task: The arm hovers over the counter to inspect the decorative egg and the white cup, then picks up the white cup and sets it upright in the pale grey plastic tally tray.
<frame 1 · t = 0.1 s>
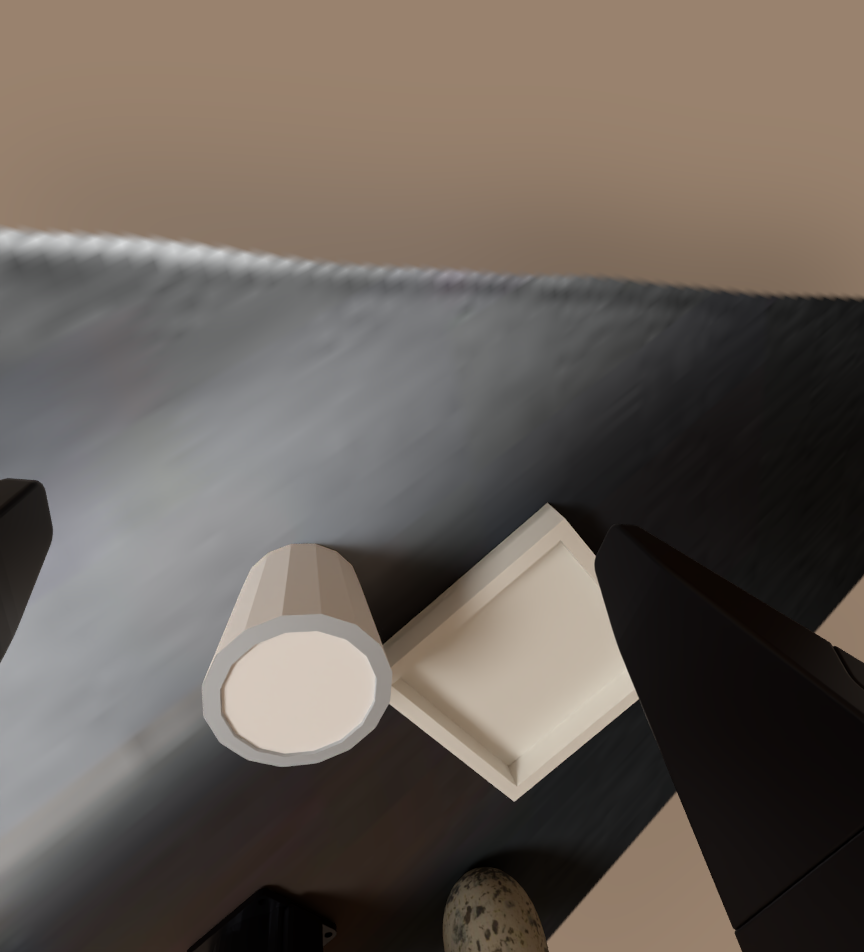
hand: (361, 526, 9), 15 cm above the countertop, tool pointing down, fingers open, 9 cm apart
tally tray: (522, 650, 30), on the countertop
white cup: (302, 593, 26), on the countertop
decorative egg: (474, 873, 35), on the countertop
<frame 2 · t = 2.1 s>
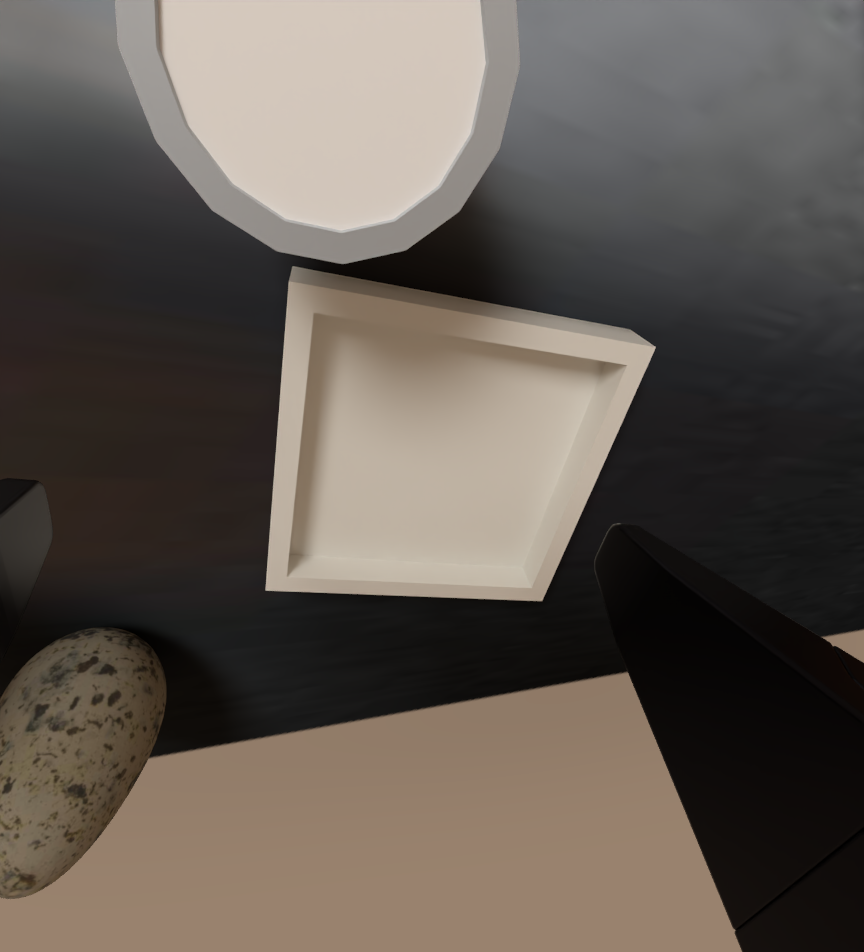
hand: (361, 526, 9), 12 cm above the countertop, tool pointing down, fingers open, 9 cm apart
tally tray: (436, 452, 22), on the countertop
white cup: (329, 82, 15), on the countertop
decorative egg: (115, 638, 25), on the countertop
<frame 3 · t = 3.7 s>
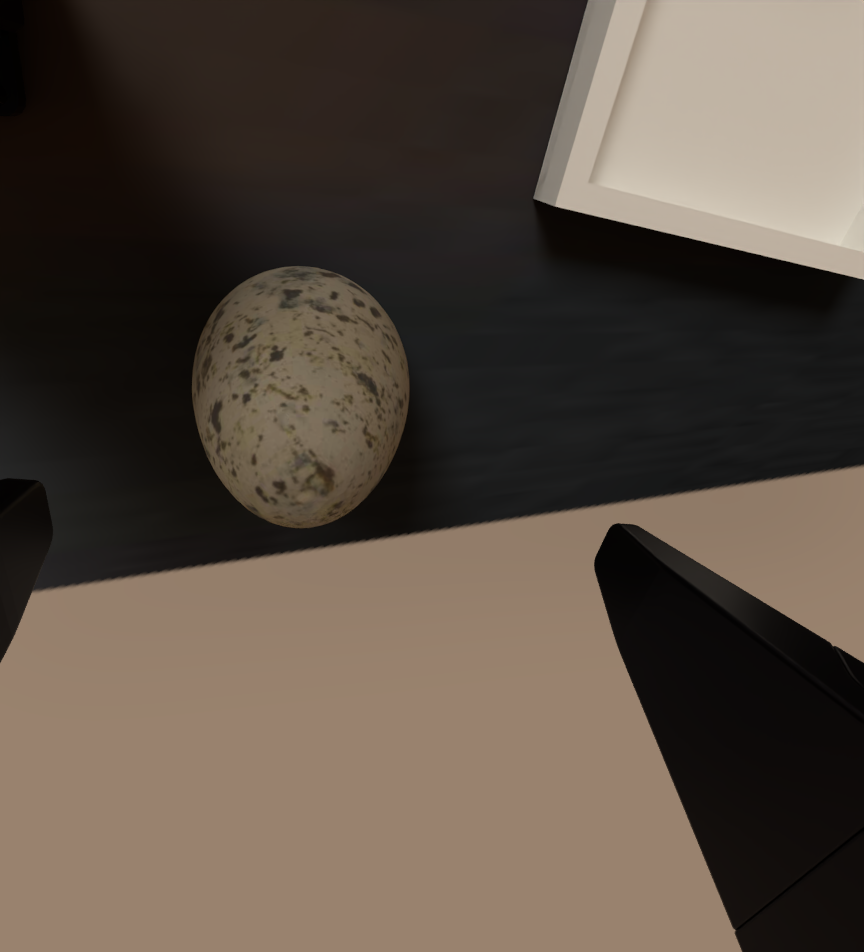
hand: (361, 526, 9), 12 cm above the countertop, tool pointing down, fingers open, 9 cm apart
tally tray: (790, 12, 16), on the countertop
decorative egg: (309, 333, 19), on the countertop
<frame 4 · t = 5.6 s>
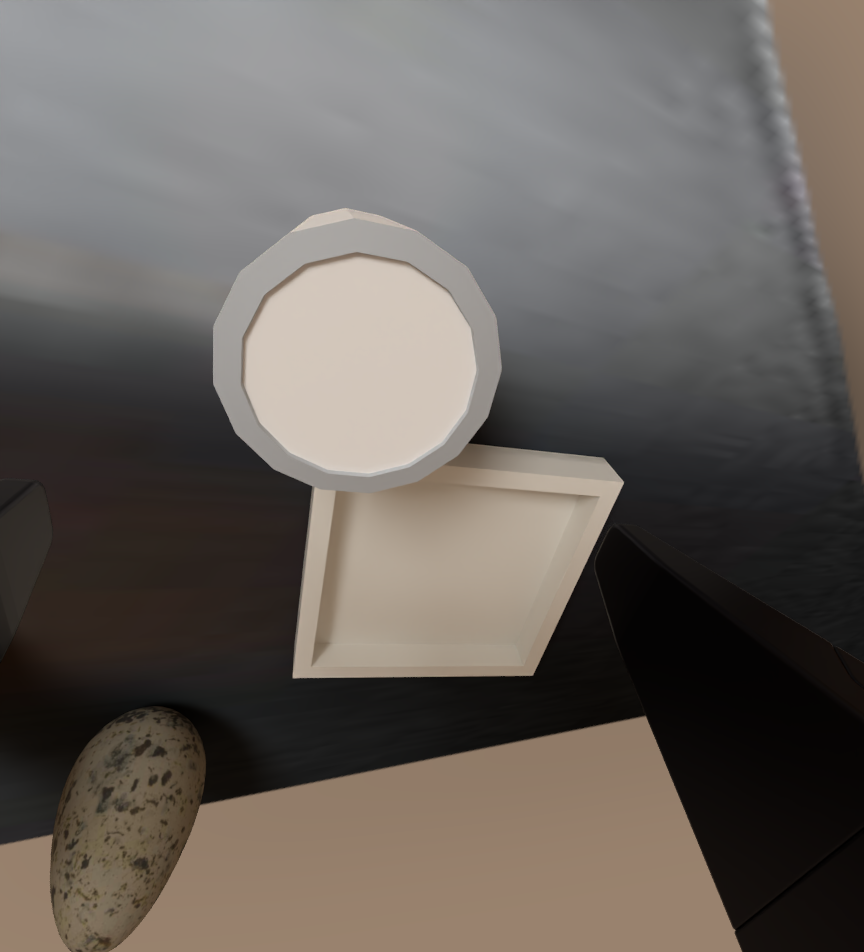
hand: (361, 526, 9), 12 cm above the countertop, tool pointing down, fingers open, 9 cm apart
tally tray: (439, 557, 26), on the countertop
white cup: (350, 297, 19), on the countertop
decorative egg: (158, 711, 29), on the countertop
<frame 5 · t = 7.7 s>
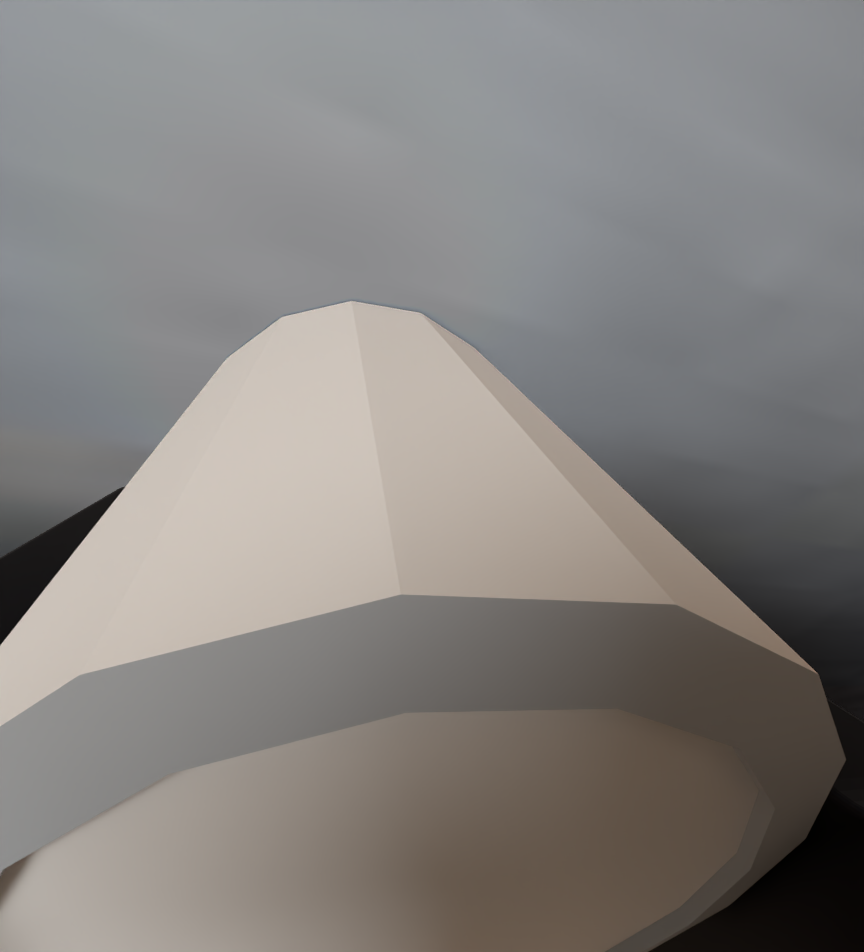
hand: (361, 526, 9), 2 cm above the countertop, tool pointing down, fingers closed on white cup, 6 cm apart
white cup: (361, 451, 10), on the countertop, touching gripper
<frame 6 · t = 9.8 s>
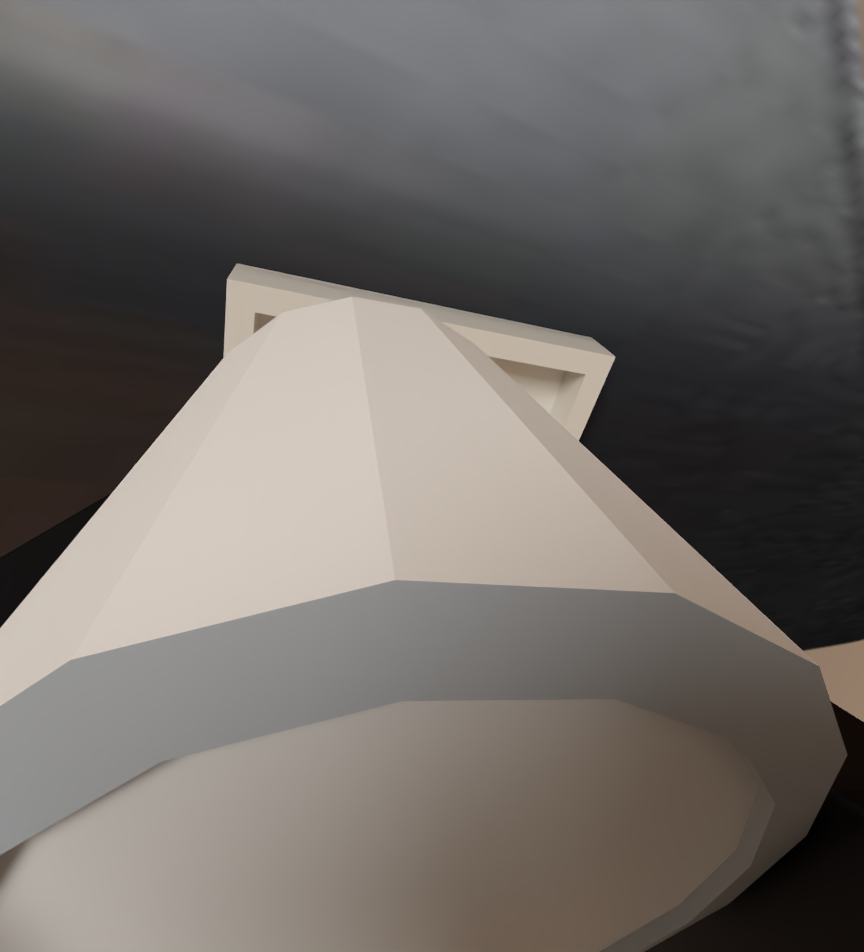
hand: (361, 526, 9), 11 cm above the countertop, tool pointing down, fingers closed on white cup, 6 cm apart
tally tray: (393, 459, 21), on the countertop
white cup: (361, 448, 10), point 10 cm above the countertop, touching gripper
when the fingers open (4 cm above the countertop, at t = 12.1 s): white cup drops 1 cm, resting on tally tray.
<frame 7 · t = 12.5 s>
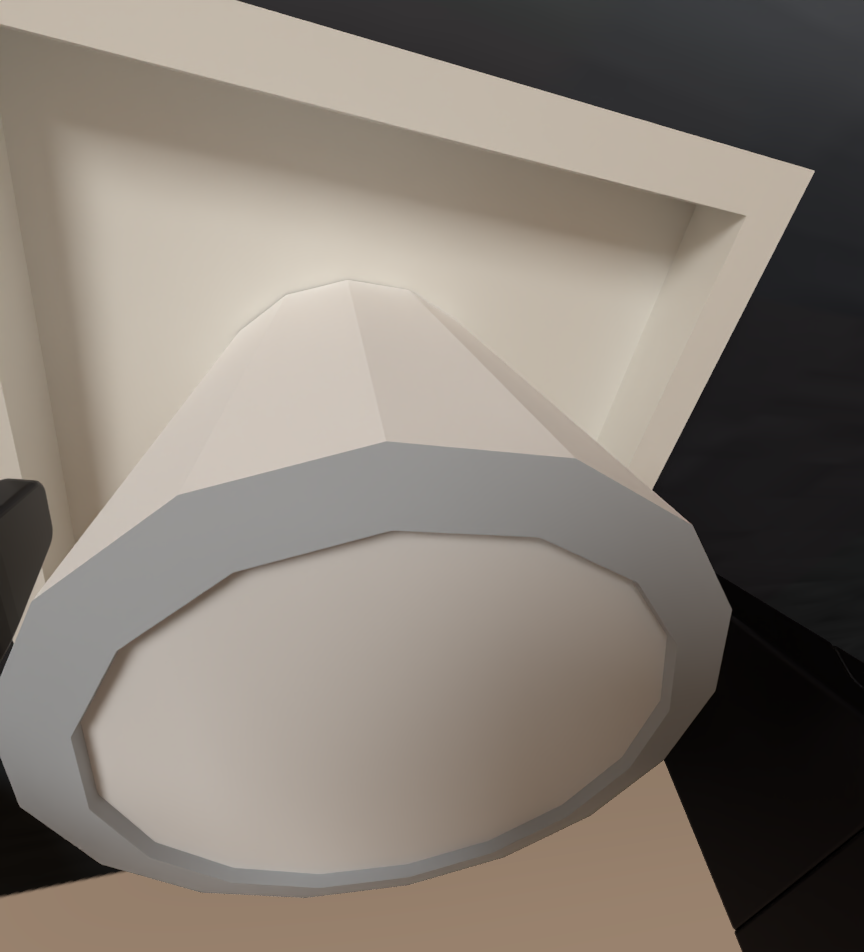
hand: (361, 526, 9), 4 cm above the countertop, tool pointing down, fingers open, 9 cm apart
tally tray: (351, 423, 12), on the countertop
white cup: (358, 417, 11), resting on tally tray
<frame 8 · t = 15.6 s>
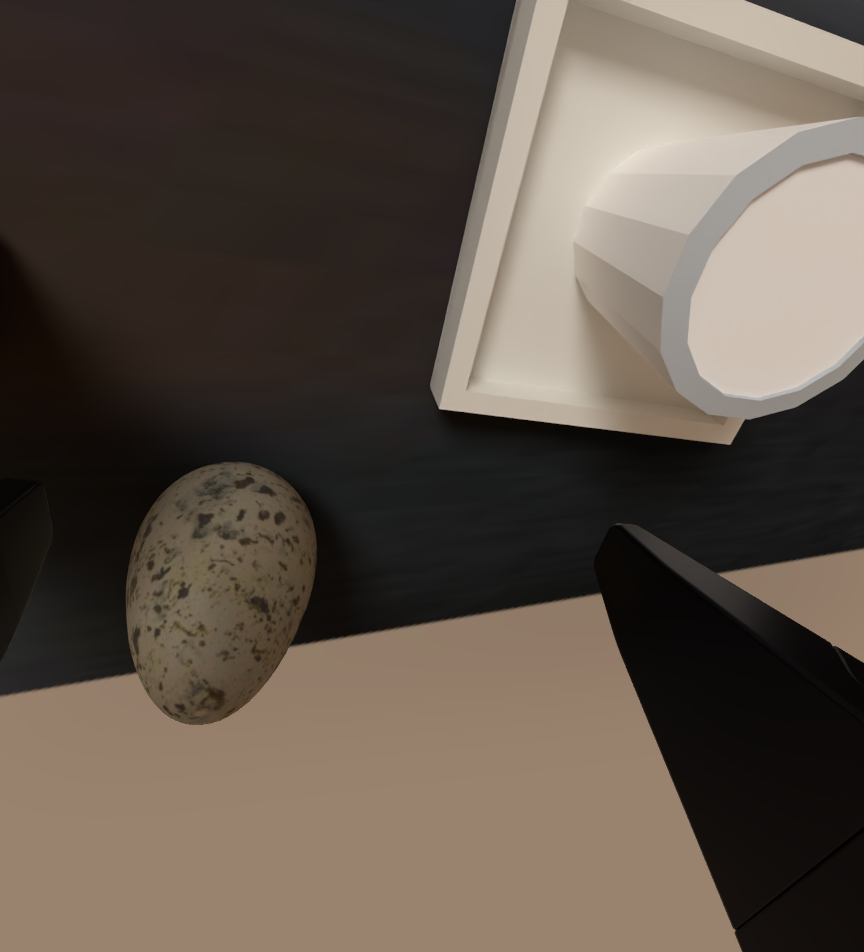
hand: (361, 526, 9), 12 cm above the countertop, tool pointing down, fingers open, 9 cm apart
tally tray: (636, 246, 19), on the countertop
white cup: (648, 237, 18), resting on tally tray
decorative egg: (244, 490, 22), on the countertop
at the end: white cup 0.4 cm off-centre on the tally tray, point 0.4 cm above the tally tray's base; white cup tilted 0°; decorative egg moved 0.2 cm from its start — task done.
